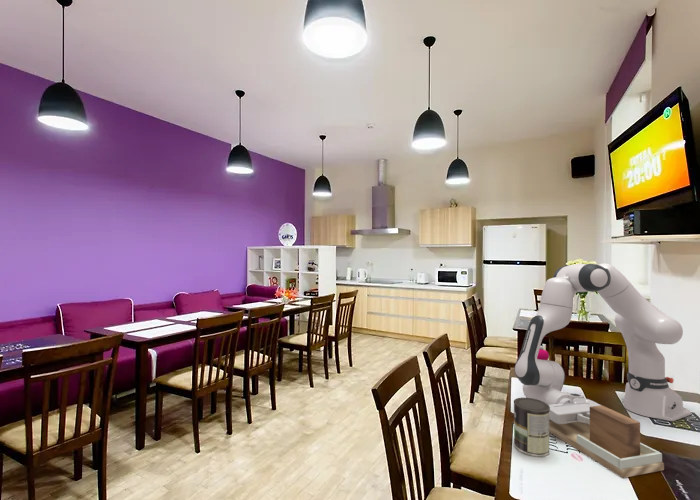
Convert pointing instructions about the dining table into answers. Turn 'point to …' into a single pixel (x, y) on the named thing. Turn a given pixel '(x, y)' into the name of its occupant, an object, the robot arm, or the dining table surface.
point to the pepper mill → (542, 354)
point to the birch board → (569, 435)
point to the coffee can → (531, 426)
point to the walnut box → (614, 432)
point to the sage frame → (623, 463)
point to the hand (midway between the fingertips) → (596, 422)
